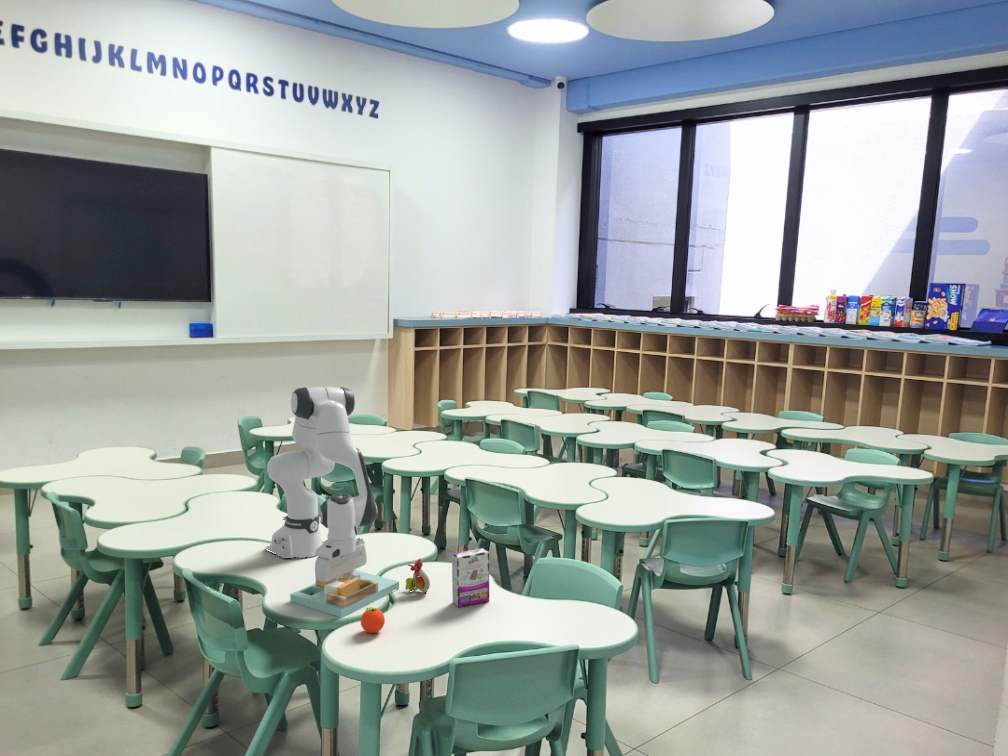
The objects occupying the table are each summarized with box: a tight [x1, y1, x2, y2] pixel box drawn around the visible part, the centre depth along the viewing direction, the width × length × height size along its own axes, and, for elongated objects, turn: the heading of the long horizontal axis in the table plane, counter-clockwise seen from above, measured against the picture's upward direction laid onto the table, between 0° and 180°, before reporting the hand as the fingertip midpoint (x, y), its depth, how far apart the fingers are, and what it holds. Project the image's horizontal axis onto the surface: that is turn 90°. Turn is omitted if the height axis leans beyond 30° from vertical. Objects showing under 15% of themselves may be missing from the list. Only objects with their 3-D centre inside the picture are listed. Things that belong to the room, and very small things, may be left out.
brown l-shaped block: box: [326, 578, 378, 608], centre depth 242 cm, size 8×15×3 cm, turn 148°
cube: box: [324, 580, 345, 599], centre depth 241 cm, size 4×4×4 cm
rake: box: [314, 577, 360, 597], centre depth 245 cm, size 16×9×4 cm, turn 64°
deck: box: [289, 569, 400, 618], centre depth 250 cm, size 22×27×2 cm
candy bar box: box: [451, 547, 490, 608], centre depth 244 cm, size 11×5×16 cm, turn 117°
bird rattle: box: [405, 558, 431, 594], centre depth 253 cm, size 6×11×9 cm
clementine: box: [360, 606, 386, 634], centre depth 223 cm, size 8×7×7 cm
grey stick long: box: [342, 572, 360, 580], centre depth 257 cm, size 6×2×2 cm, turn 58°
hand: (342, 586), depth 248 cm, fingers closed on rake, 3 cm apart
